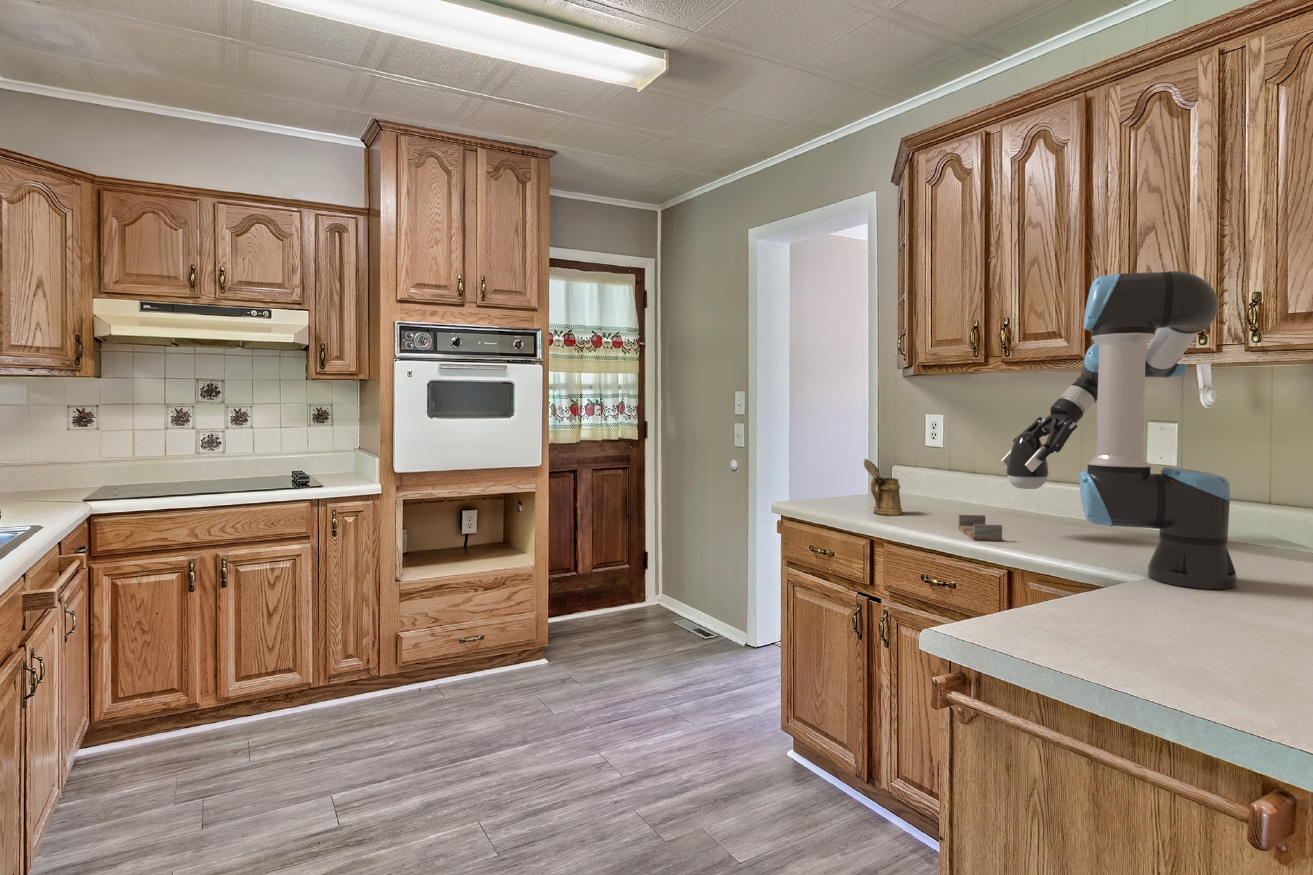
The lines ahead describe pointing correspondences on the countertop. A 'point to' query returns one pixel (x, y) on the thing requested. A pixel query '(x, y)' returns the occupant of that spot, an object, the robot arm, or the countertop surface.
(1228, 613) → the countertop surface
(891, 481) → the wooden mug
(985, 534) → the walnut riser
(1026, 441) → the black egg roly-poly
